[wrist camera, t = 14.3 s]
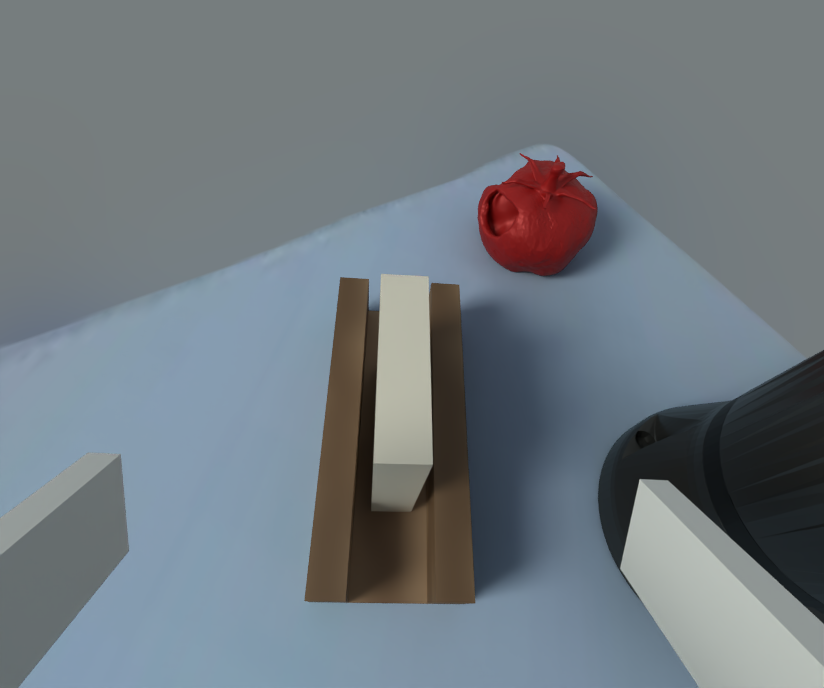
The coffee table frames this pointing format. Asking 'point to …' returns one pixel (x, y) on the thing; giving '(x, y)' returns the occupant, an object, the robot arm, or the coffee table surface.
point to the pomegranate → (537, 218)
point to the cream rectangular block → (402, 394)
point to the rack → (353, 470)
